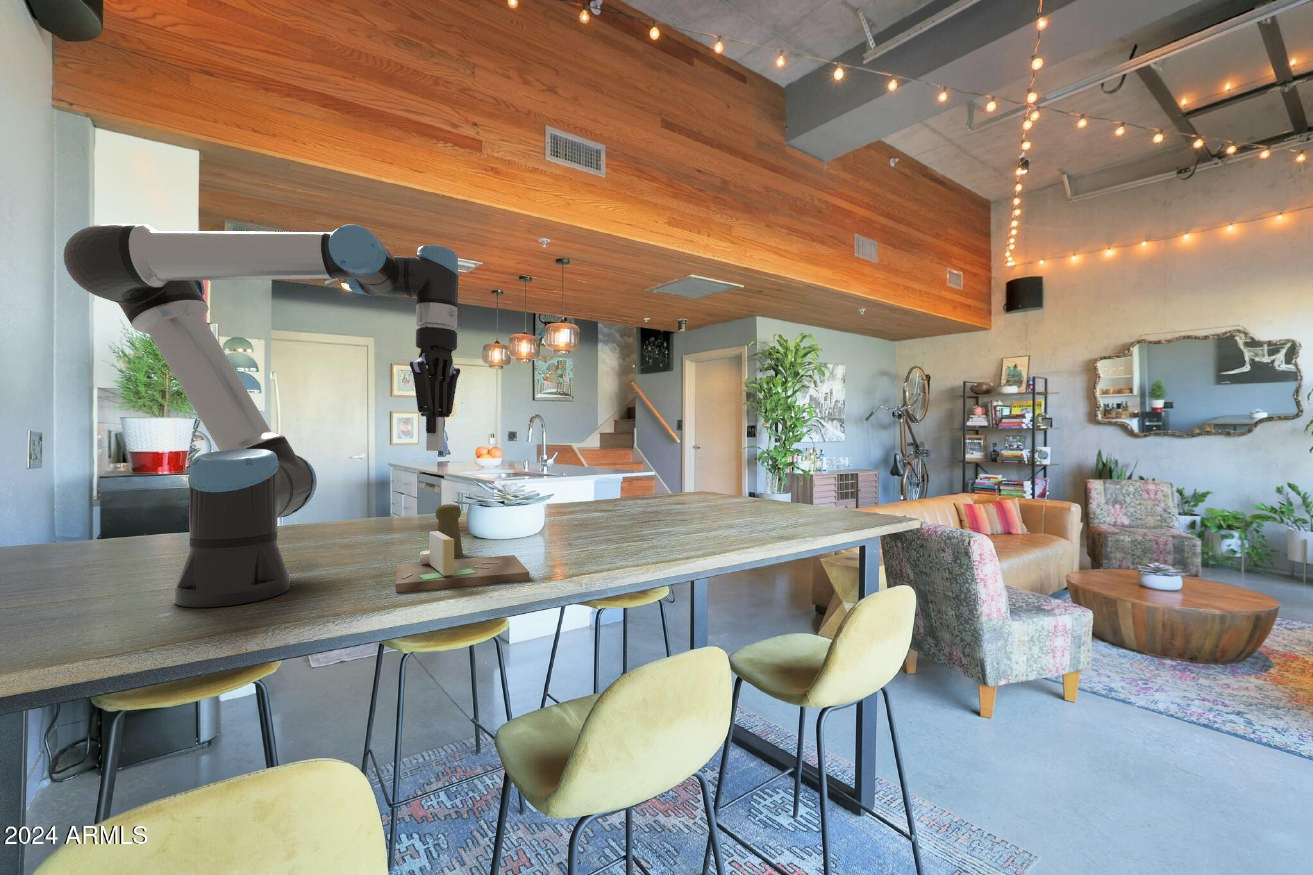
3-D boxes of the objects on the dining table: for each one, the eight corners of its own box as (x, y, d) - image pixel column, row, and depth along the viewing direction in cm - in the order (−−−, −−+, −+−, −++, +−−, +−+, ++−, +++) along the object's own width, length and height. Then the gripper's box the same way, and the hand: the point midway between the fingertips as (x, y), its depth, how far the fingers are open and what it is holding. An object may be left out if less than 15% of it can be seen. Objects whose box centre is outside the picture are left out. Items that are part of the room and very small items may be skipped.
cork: (453, 558, 124) (453, 506, 124) (427, 557, 125) (427, 505, 125) (468, 553, 130) (468, 503, 130) (443, 551, 131) (443, 502, 131)
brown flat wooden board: (395, 592, 97) (395, 582, 97) (396, 571, 112) (397, 563, 112) (529, 580, 106) (529, 571, 106) (514, 562, 121) (514, 554, 121)
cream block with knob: (417, 560, 113) (417, 528, 112) (439, 558, 115) (439, 527, 115) (437, 576, 100) (437, 540, 100) (460, 573, 102) (460, 538, 102)
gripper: (432, 322, 107) (430, 451, 107) (472, 334, 119) (470, 450, 119) (397, 323, 109) (395, 450, 109) (440, 335, 121) (438, 449, 121)
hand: (434, 450), depth 114 cm, fingers closed
